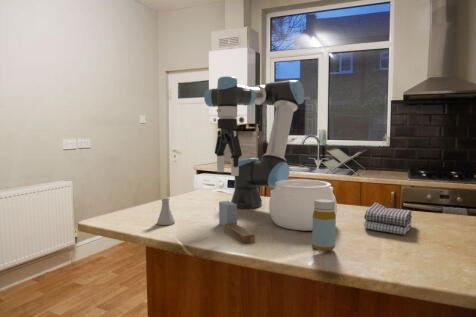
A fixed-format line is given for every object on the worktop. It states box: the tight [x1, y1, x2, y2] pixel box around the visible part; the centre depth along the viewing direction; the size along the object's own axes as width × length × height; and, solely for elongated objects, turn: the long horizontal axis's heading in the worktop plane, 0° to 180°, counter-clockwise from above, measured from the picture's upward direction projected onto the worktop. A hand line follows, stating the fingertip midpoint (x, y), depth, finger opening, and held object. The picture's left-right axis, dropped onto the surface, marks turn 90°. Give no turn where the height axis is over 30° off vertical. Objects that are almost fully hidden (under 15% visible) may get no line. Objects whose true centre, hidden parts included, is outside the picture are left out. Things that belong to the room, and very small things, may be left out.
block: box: [224, 223, 256, 244], centre depth 116 cm, size 4×16×2 cm, turn 26°
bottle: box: [311, 199, 337, 252], centre depth 104 cm, size 7×7×15 cm
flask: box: [156, 197, 176, 226], centre depth 133 cm, size 7×7×10 cm
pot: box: [268, 178, 338, 232], centre depth 133 cm, size 29×26×16 cm
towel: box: [363, 202, 413, 235], centre depth 128 cm, size 15×18×8 cm
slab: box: [218, 200, 238, 228], centre depth 130 cm, size 4×8×9 cm, turn 26°
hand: (227, 173), depth 128 cm, fingers open, 13 cm apart
